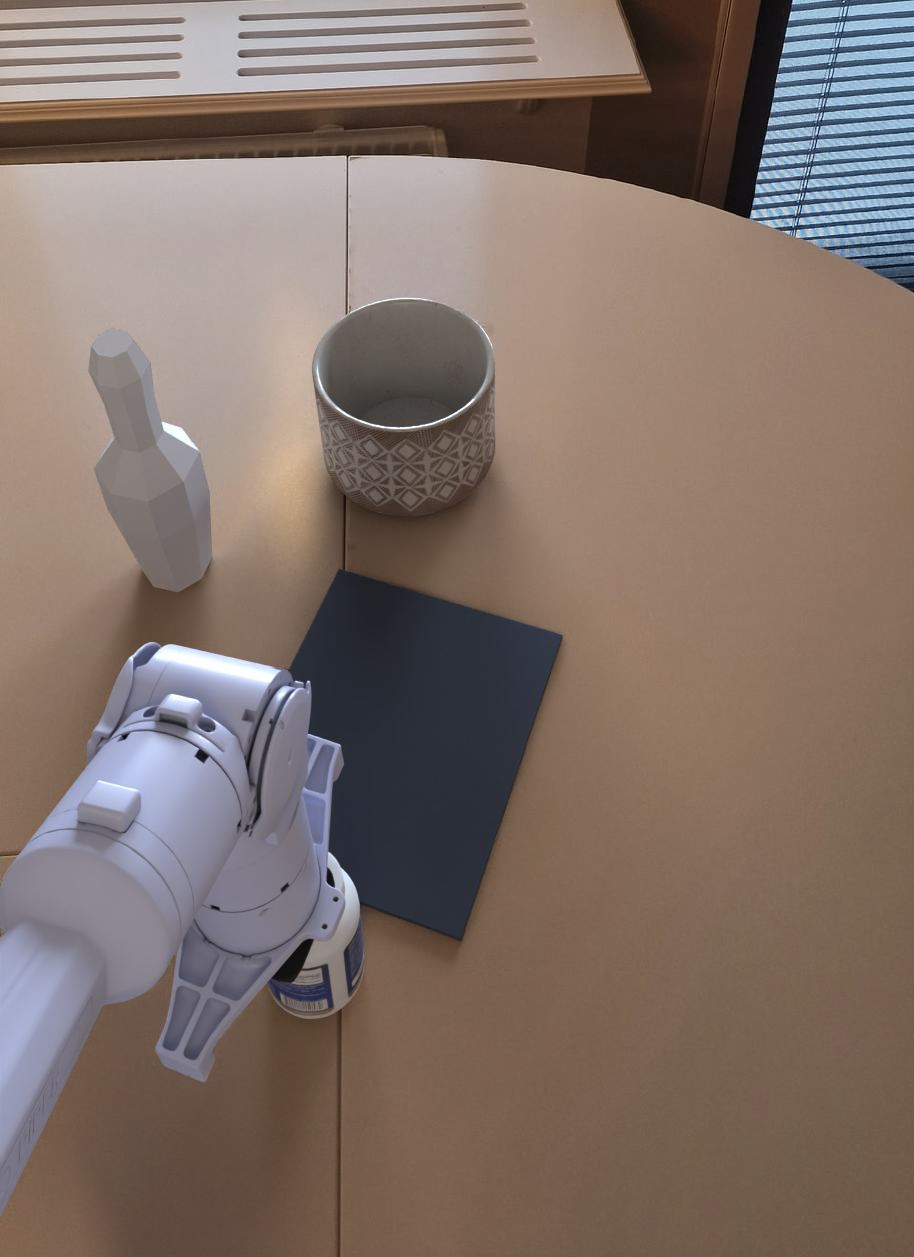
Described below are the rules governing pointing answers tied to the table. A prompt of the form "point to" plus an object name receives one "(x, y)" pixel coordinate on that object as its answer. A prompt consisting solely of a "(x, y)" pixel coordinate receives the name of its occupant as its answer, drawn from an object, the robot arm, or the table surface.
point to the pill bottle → (328, 962)
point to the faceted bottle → (150, 470)
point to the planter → (406, 405)
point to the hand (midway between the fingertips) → (279, 961)
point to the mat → (420, 738)
